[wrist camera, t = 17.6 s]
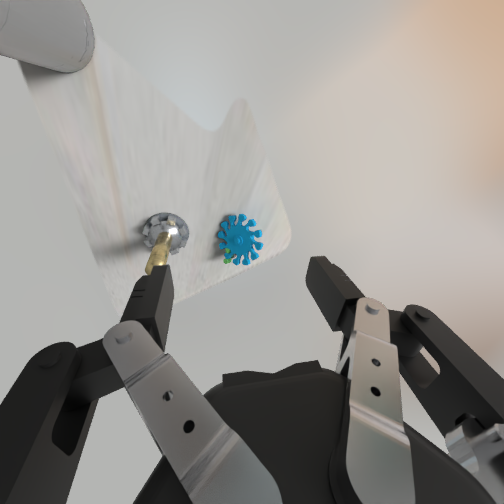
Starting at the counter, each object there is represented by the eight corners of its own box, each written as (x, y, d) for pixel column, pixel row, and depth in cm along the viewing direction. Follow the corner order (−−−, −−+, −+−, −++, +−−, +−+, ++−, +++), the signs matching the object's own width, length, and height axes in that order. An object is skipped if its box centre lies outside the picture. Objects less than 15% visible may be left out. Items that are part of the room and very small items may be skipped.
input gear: (140, 242, 42) (120, 282, 32) (151, 207, 39) (132, 240, 29) (179, 254, 45) (172, 294, 35) (193, 223, 42) (189, 258, 32)
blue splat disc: (233, 202, 40) (270, 240, 37) (249, 202, 45) (283, 236, 42) (205, 244, 45) (236, 280, 43) (223, 240, 50) (251, 272, 47)
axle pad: (140, 241, 42) (140, 242, 42) (151, 206, 39) (151, 206, 39) (181, 254, 45) (181, 255, 45) (194, 222, 42) (194, 223, 42)
